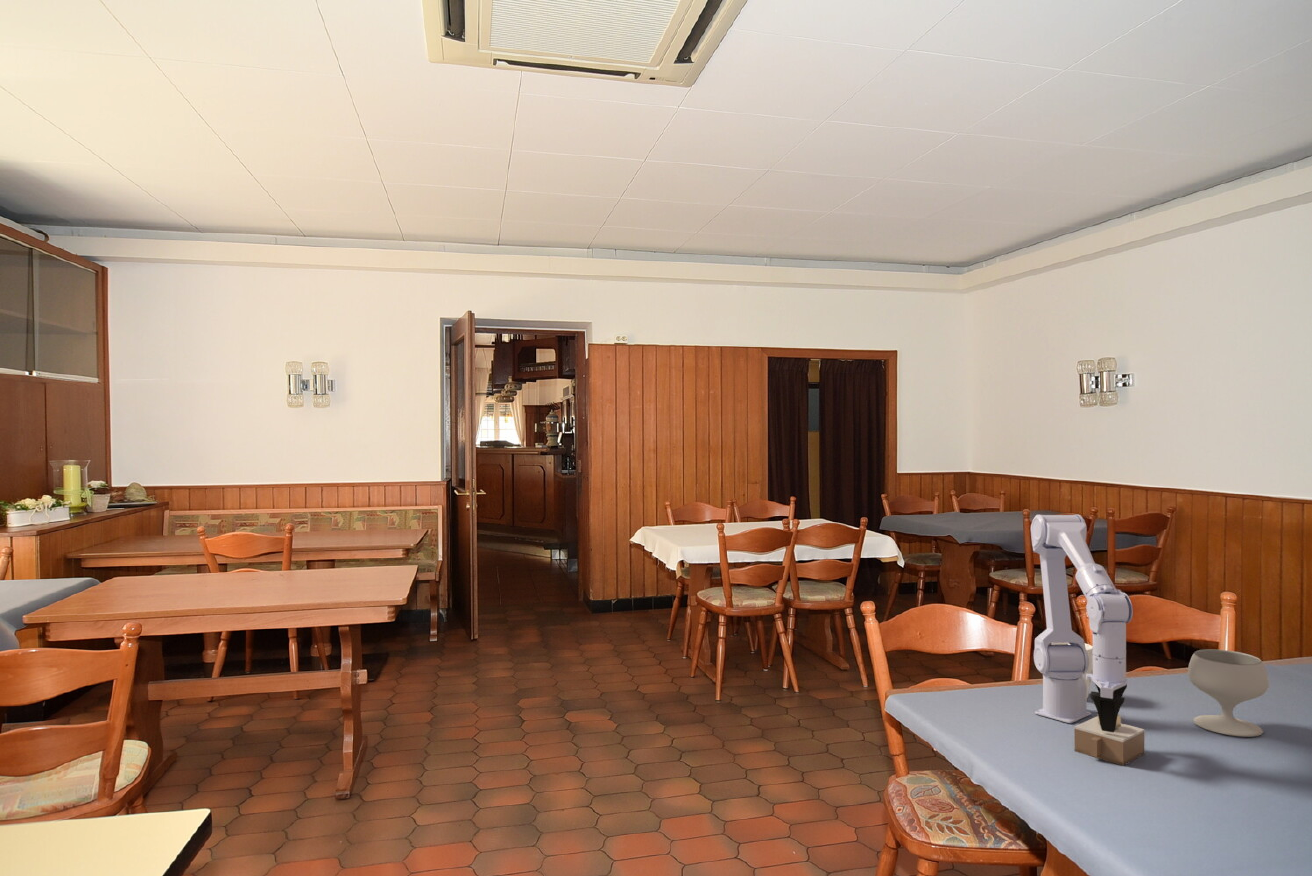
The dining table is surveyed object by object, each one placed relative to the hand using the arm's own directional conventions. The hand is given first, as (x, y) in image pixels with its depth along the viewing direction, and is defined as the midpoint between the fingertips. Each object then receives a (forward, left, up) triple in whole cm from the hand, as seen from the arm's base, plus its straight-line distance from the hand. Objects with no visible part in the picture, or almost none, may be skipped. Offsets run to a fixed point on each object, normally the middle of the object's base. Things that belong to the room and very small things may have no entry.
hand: (1109, 724), depth 160 cm
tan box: (0, 0, -5) cm, 5 cm away
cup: (-28, -21, -6) cm, 35 cm away
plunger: (0, 0, -4) cm, 4 cm away
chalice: (-33, +9, -6) cm, 35 cm away
